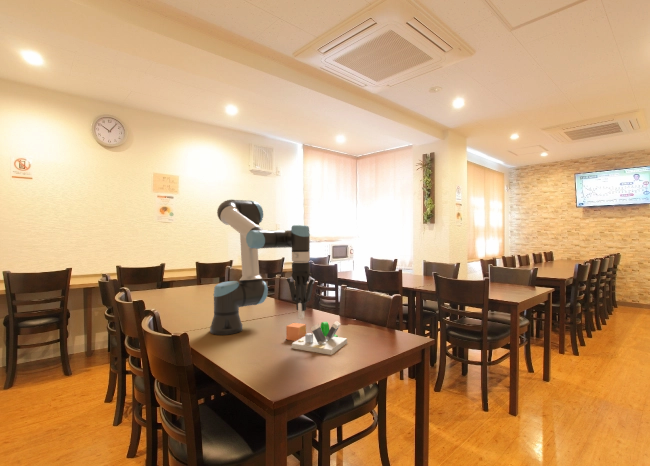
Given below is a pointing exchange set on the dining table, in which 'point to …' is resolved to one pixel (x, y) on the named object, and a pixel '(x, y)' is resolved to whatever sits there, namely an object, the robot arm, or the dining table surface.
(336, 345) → the panel
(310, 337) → the post
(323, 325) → the mechanical part
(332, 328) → the lever plain
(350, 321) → the dining table surface
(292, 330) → the cap
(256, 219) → the robot arm
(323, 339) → the lever tagged
